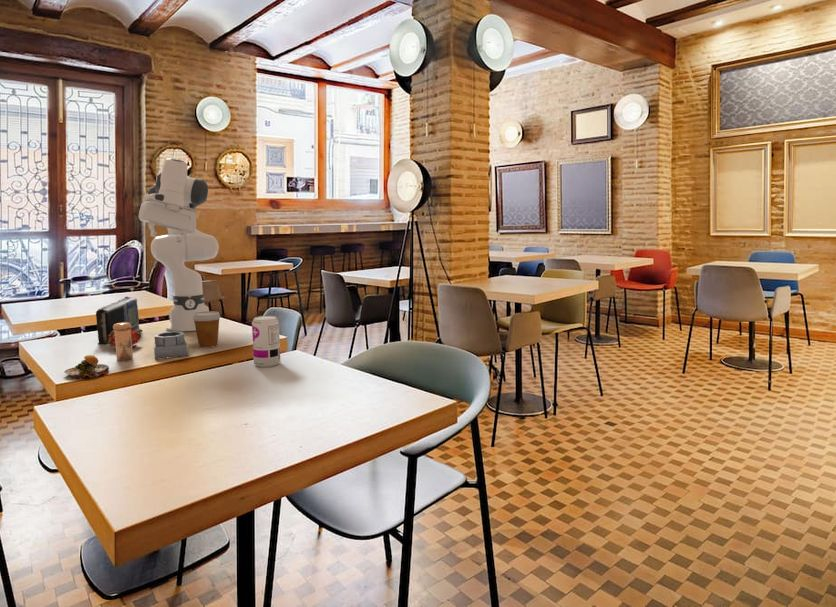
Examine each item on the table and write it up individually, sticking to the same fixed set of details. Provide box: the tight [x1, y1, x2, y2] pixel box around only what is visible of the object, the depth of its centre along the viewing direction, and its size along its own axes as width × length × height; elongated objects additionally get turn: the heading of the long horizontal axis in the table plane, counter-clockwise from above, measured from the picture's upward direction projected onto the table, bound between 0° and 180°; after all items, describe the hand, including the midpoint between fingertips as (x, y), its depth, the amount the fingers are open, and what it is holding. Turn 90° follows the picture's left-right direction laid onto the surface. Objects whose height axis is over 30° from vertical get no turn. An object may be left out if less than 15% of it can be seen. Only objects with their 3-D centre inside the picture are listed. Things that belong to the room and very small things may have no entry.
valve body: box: [153, 331, 189, 360], centre depth 203 cm, size 16×10×7 cm, turn 25°
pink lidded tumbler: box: [113, 323, 134, 362], centre depth 194 cm, size 5×5×12 cm
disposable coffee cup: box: [192, 310, 221, 348], centre depth 213 cm, size 10×10×12 cm
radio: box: [95, 296, 143, 346], centre depth 226 cm, size 23×9×15 cm, turn 169°
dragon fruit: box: [108, 330, 142, 349], centre depth 211 cm, size 8×8×12 cm
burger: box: [64, 354, 110, 380], centre depth 177 cm, size 12×12×8 cm
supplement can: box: [251, 315, 281, 368], centre depth 187 cm, size 8×8×15 cm
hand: (166, 239), depth 212 cm, fingers open, 8 cm apart
